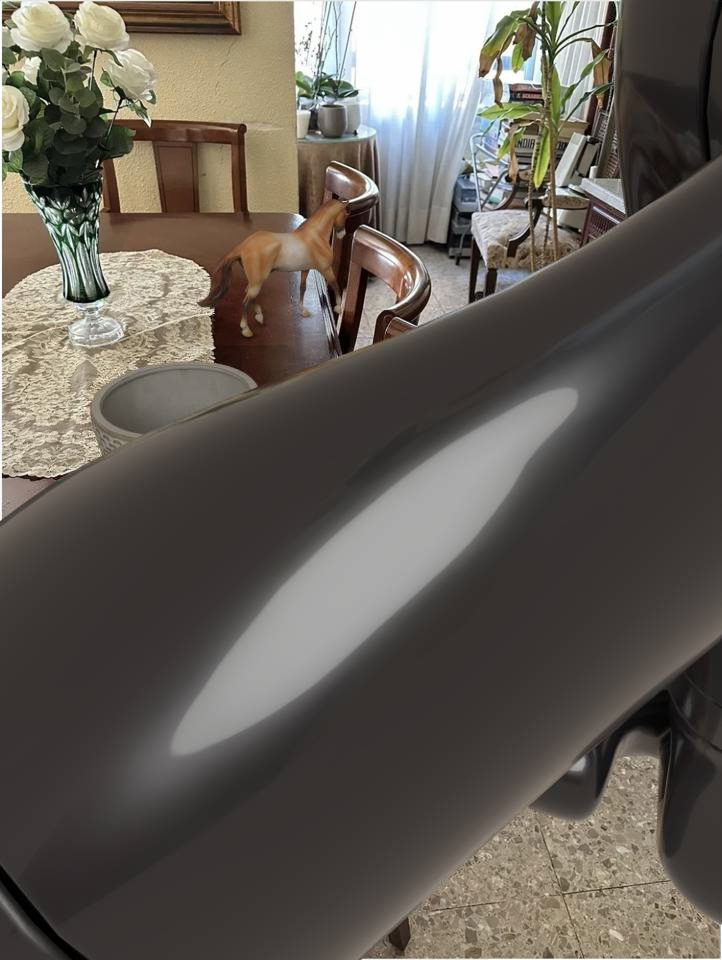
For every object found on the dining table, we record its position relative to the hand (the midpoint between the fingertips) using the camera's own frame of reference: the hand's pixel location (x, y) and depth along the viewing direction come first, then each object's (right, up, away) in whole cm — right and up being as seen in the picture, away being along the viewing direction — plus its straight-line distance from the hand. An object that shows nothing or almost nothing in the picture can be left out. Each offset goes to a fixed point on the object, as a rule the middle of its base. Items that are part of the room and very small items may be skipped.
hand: (152, 611), depth 40 cm
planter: (-7, +3, +37) cm, 38 cm away
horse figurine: (-3, +39, +87) cm, 95 cm away
